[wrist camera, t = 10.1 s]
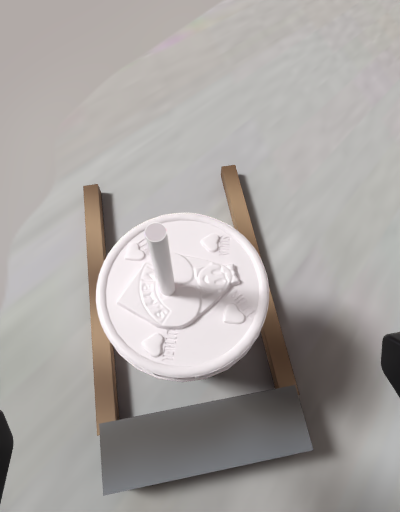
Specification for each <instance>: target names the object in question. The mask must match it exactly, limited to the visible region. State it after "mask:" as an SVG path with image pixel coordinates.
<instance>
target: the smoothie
mask: <svg viewBox="0 0 400 512" xmlns="http://www.w3.org/2000/svg"><path fill="white" fill-rule="evenodd" d="M268 304H269V283H268V278H267V273H266V270H265V267H264V265H263V262H262V260H261V258H260V256H259V254H258V253H257V251H256V250H255V248H254V247H253V245H252V244H251V243H250V242H249V241H248V240H247V239H246V238H245V237H244V236H243V235H242V234H241V233H240V232H239V231H237V230H236V229H235V228H233V227H232V226H230V225H228V224H226V223H225V222H223V221H220V220H218V219H216V218H213V217H210V216H206V215H202V214H195V213H172V214H166V215H162V216H158V217H155V218H152V219H149V220H147V221H145V222H143V223H141V224H139V225H138V226H136V227H134V228H133V229H131V230H130V231H129V232H127V233H126V234H125V235H124V236H123V237H122V238H121V239H120V240H119V241H118V242H117V243H116V244H115V245H114V246H113V248H112V249H111V251H110V252H109V253H108V255H107V257H106V259H105V260H104V263H103V265H102V267H101V270H100V273H99V276H98V281H97V287H96V306H97V312H98V317H99V320H100V323H101V326H102V328H103V330H104V332H105V334H106V336H107V337H108V339H109V341H110V342H111V343H112V345H113V346H114V347H115V349H116V350H117V352H118V353H119V355H121V356H122V357H123V358H124V359H125V360H126V361H128V362H129V363H130V364H131V365H132V366H134V367H135V368H136V369H138V370H140V371H142V372H144V373H146V374H149V375H151V376H153V377H155V378H158V379H163V380H170V381H177V382H187V381H194V380H201V379H207V378H209V377H211V376H214V375H216V374H218V373H221V372H223V371H225V370H228V369H229V368H230V367H231V366H233V365H234V364H235V363H236V362H237V361H239V360H240V359H241V358H242V357H244V356H245V355H246V354H247V352H248V351H249V349H250V348H251V347H252V345H253V344H254V342H255V341H256V339H257V338H258V337H259V334H260V331H261V328H262V326H263V323H264V321H265V318H266V315H267V310H268Z"/></svg>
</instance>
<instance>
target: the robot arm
mask: <svg viewBox="0 0 400 512" xmlns="http://www.w3.org/2000/svg"><path fill="white" fill-rule="evenodd" d="M381 366H382V370H383V372H384V374H385V375H386V377H387V379H388V380H389V382H390V383H391V385H392V386H393V388H394V389H395V391H396V393H397V394H398V396H399V397H400V332H397V333H392V334H387V335H385V336H384V337H383V341H382V355H381ZM12 450H13V436H12V433H11V431H10V428H9V426H8V423H7V421H6V418H5V416H4V414H3V412H2V411H1V410H0V503H1V499H2V494H3V490H4V485H5V481H6V476H7V472H8V468H9V463H10V459H11V454H12Z"/></svg>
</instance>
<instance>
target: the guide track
mask: <svg viewBox="0 0 400 512" xmlns="http://www.w3.org/2000/svg"><path fill="white" fill-rule="evenodd" d="M221 178H222V182H223V186H224V190H225V193H226V197H227V201H228V205H229V209H230V213H231V217H232V221H233V225H234V228H235V229H236V230H237V231H239V232H240V233H241V234H242V235H243V236H244V237H245V238H246V239H247V240H248V241H249V242H250V243H251V244H252V245H253V247H254V248H255V250H256V251H257V253H258V254H259V256H260V252H259V248H258V245H257V241H256V238H255V234H254V231H253V227H252V223H251V220H250V216H249V213H248V209H247V206H246V202H245V198H244V195H243V191H242V188H241V184H240V181H239V177H238V173H237V170H236V166H235V165H230V166H223V167H222V169H221ZM83 188H84V206H85V224H86V242H87V260H88V278H89V296H90V315H91V333H92V351H93V369H94V387H95V405H96V423H97V436H98V435H100V447H101V464H102V481H103V496H104V495H108V494H113V493H118V492H122V491H127V490H131V489H136V488H141V487H145V486H150V485H155V484H159V483H164V482H168V481H173V480H178V479H182V478H187V477H192V476H196V475H201V474H205V473H210V472H215V471H219V470H224V469H229V468H233V467H238V466H243V465H247V464H252V463H256V462H261V461H266V460H270V459H275V458H280V457H284V456H289V455H293V454H298V453H303V452H307V451H312V450H313V447H312V443H311V440H310V436H309V432H308V429H307V425H306V422H305V418H304V414H303V411H302V407H301V404H300V400H299V397H298V395H299V391H298V387H297V384H296V380H295V377H294V373H293V370H292V366H291V363H290V359H289V355H288V352H287V348H286V345H285V341H284V338H283V334H282V330H281V327H280V323H279V320H278V316H277V313H276V309H275V305H274V302H273V298H272V295H271V291H270V288H269V304H268V310H267V315H266V318H265V321H264V323H263V326H262V328H261V334H262V338H263V342H264V346H265V350H266V354H267V358H268V362H269V366H270V370H271V374H272V377H273V381H274V385H275V389H272V390H267V391H262V392H257V393H252V394H247V395H241V396H236V397H231V398H226V399H221V400H216V401H211V402H206V403H201V404H196V405H191V406H186V407H181V408H176V409H171V410H166V411H161V412H156V413H151V414H146V415H141V416H136V417H131V418H125V419H120V420H119V410H118V398H117V385H116V373H115V360H114V348H113V345H112V343H111V342H110V341H109V339H108V337H107V336H106V334H105V332H104V330H103V328H102V326H101V323H100V320H99V317H98V312H97V306H96V287H97V281H98V276H99V273H100V270H101V267H102V265H103V263H104V260H105V259H106V248H105V235H104V223H103V210H102V198H101V191H100V189H99V186H98V184H95V185H87V186H83ZM260 258H261V256H260ZM261 260H262V259H261Z"/></svg>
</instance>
